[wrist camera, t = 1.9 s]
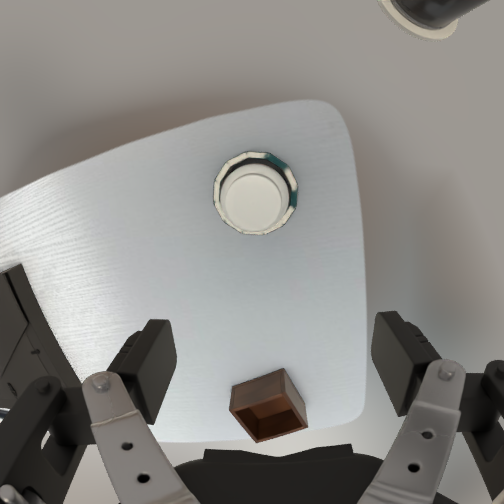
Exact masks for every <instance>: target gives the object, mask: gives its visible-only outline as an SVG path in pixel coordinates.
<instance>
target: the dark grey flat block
mask: <svg viewBox="0 0 504 504" xmlns="http://www.w3.org/2000/svg"><path fill="white" fill-rule="evenodd" d="M49 375H50V376H55V377H57V378H59V379H60V381H61V383H62V386H63V388H68V387H81V386H82V384H81V382H80V381H79V379H78V378H77V376H76V374H75V373H74V371H73V369H72V368H71V366H70V364H69V363H68V361H67V359H66V357H65V356H64V354H63V352H62V350H61V348H60V346H59V345H58V343H57V341H56V339H55V337H54V335H53V333H52V331H51V329H50V327H49V325H48V323H47V321H46V319H45V317H44V315H43V313H42V311H41V309H40V307H39V305H38V302H37V300H36V298H35V296H34V293H33V291H32V289H31V286H30V284H29V282H28V279H27V277H26V274H25V272H24V269H23V267H22V264H19V265H17V266H14V267H12V268H10V269H7V270H5V271H3V272H1V273H0V408H7V409H11V408H12V407H13V405H14V404H15V402H16V401H17V400H18V398H19V397H20V396H21V394H22V393H23V392H24V391H25V389H26V388H27V387H28V385H29V384H30V383H31V382H32V381H33V380H35V379H37V378H39V377H42V376H49Z"/></svg>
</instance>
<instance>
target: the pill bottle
mask: <svg viewBox="0 0 504 504" xmlns="http://www.w3.org/2000/svg"><path fill="white" fill-rule="evenodd" d="M220 202H221V207H222V210H223V213H224V215H225V216H226V218H227V219H228V220H229V221H230V222H231V223H232V224H233V225H234V226H236V227H237V228H239V229H241V230H244V231H247V232H262V231H265V230H268V229H270V228H272V227H273V226H275V225H276V224H277V223H278V222H279V221H280V220H281V219H282V218H283V216H284V215H285V213H286V210H287V207H288V203H289V193H288V188H287V185H286V183H285V181H284V179H283V178H282V177H281V175H280V174H279V173H278V172H277V171H276V170H274V169H273V168H272V167H270V166H268V165H265V164H261V163H251V164H247V165H244V166H241V167H239V168H237V169H236V170H234V171H233V172H232V173H231V174H230V175H229V176H228V177H227V179H226V180H225V182H224V184H223V186H222V189H221V194H220Z"/></svg>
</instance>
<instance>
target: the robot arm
mask: <svg viewBox="0 0 504 504" xmlns="http://www.w3.org/2000/svg"><path fill="white" fill-rule="evenodd" d="M390 1H391V3H392V4H393V6H394V7H395V8H396V10H397V11H398V12H399V13H400V14H401V15H402V16H403V17H404V18H406V19H407V20H408V21H410V22H411V23H413V24H415V25H417V26H419V27H421V28H424V29H427V30H440V29H443V28H444V27H446V26H448V25H449V24H450V23H451V22H453V21H454V20H456V19H458V18H460V17H461V16H463V15H465V14H466V13H468V12H470V11H471V10H473V9H475V8H477V7H479V6H480V5H482V4H484V3H485V2H487V1H489V0H390ZM371 356H372V360H373V363H374V365H375V367H376V369H377V371H378V373H379V376H380V378H381V380H382V382H383V384H384V386H385V389H386V391H387V393H388V395H389V397H390V400H391V402H392V404H393V406H394V409H395V411H396V413H397V415H398V417H401V416H405V415H407V416H406V418H405V420H404V422H403V425H402V427H401V429H400V431H399V433H398V435H397V437H396V439H395V441H394V443H393V445H392V447H391V449H390V450H389V452H388V454H387V456H386V458H385V460H382V459H379V458H376V457H373V456H369V455H365V454H358V453H353V449H352V445H351V444H344V445H336V446H326V447H316V448H312V449H309V450H305V451H302V452H298V453H294V454H290V455H286V456H282V457H274V456H268V455H262V454H257V453H252V452H247V451H242V450H215V449H205V451H204V457H203V459H198V460H193V461H189V462H186V463H183V464H180V465H178V466H176V467H174V468H173V467H172V465H171V463H170V462H169V460H168V459H167V457H166V455H165V454H164V452H163V451H162V449H161V447H160V446H159V444H158V442H157V441H156V439H155V437H154V436H153V434H152V432H151V431H150V429H149V427H148V425H147V424H150V425H154V423H155V421H156V418H157V415H158V413H159V410H160V407H161V405H162V402H163V399H164V397H165V394H166V391H167V389H168V386H169V384H170V381H171V378H172V376H173V373H174V371H175V368H176V363H177V354H176V349H175V344H174V338H173V333H172V328H171V323H170V321H169V320H164V319H150V320H149V321H148V323H147V324H146V326H145V327H144V329H143V330H142V331H137V332H136V333H134V334H133V335H131V336H130V337H128V339H127V340H126V342H125V343H124V345H123V346H122V348H121V349H120V351H119V353H118V354H117V355H116V357H115V358H114V360H113V361H112V363H111V364H110V366H109V367H108V369H107V370H106V371H103V372H97V373H95V374H92V375H90V376H89V377H88V378H86V379H85V380H84V382H83V384H82V386H81V387H68V388H63V386H62V383H61V381H60V379H59V378H57V377H55V376H50V375H49V376H42V377H39V378H37V379H35V380H33V381H32V382H31V383H30V384H29V385H28V387H27V388H26V389H25V391H24V392H23V393H22V394H21V396H20V397H19V398H18V400H17V401H16V402H15V404H14V405H13V407H12V408H11V409H10V411H9V412H8V413H7V415H6V416H5V417H4V419H3V420H2V422H1V423H0V504H63V501H64V499H65V496H66V494H67V492H68V489H69V487H70V484H71V482H72V480H73V477H74V475H75V472H76V470H77V468H78V466H79V463H80V461H81V459H82V456H83V454H84V452H85V449H86V447H87V445H90V444H97V447H98V450H99V452H100V455H101V458H102V460H103V463H104V466H105V468H106V470H107V473H108V475H109V478H110V480H111V482H112V485H113V487H114V490H115V492H116V494H117V496H118V499H119V501H120V503H119V504H458V503H456V502H454V501H452V500H451V499H449V498H447V497H445V496H443V495H442V494H440V493H438V492H437V489H438V486H439V484H440V481H441V479H442V476H443V473H444V470H445V467H446V464H447V461H448V458H449V455H450V451H451V449H452V445H453V441H454V438H455V435H456V432H462V434H463V436H464V438H465V440H466V442H467V444H468V446H469V449H470V451H471V453H472V455H473V457H474V459H475V462H476V464H477V466H478V468H479V470H480V473H481V475H482V477H483V480H484V482H485V484H486V487H487V489H488V492H489V494H490V496H491V499H492V504H504V430H503V428H502V427H501V425H500V423H499V422H498V419H499V417H500V416H502V417H503V419H504V361H502V360H495V361H491V362H490V363H488V364H487V366H486V369H485V371H484V373H466V371H465V369H464V368H463V366H461V365H460V364H459V363H457V362H455V361H452V360H448V359H442V358H441V357H440V355H439V354H438V353H437V352H436V350H435V349H434V347H433V346H432V345H431V343H430V342H428V340H427V338H426V337H425V336H424V335H423V333H422V332H421V331H420V329H419V328H418V327H416V326H415V325H413V324H411V323H410V322H404V320H403V319H402V318H401V316H400V315H399V314H398V313H397V311H387V312H378V313H377V314H376V318H375V324H374V332H373V339H372V345H371ZM47 431H49V433H50V436H49V438H48V440H47V442H46V444H45V445H44V447H43V449H42V450H41V442H42V439H43V437H44V436H45V434H46V432H47Z"/></svg>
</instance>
